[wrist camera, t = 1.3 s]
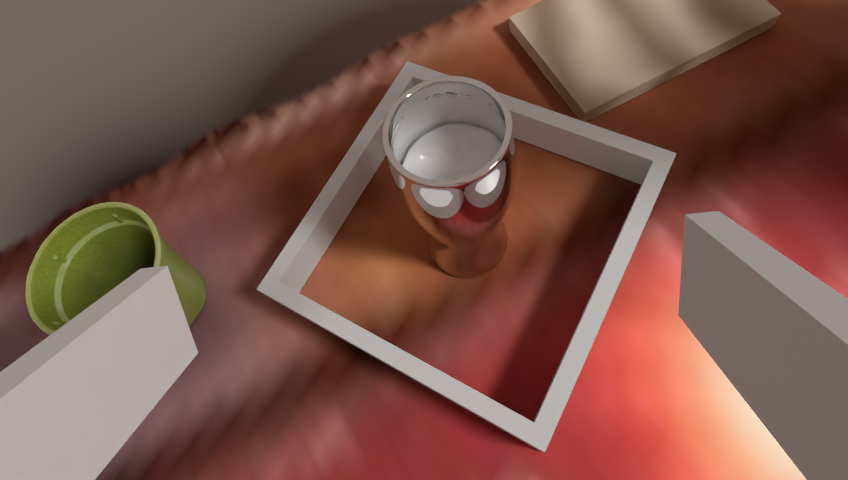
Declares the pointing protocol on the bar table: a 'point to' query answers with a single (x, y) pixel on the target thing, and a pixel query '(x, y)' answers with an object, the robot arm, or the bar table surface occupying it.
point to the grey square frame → (528, 126)
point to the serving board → (630, 43)
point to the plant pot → (102, 264)
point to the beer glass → (454, 169)
